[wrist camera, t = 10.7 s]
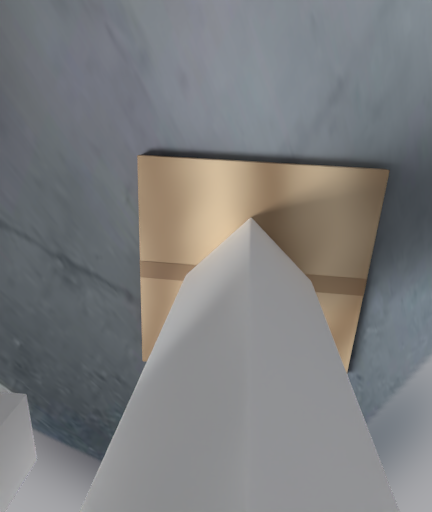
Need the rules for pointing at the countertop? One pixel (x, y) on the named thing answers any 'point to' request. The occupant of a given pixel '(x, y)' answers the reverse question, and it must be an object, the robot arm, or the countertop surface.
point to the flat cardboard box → (268, 218)
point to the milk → (243, 401)
